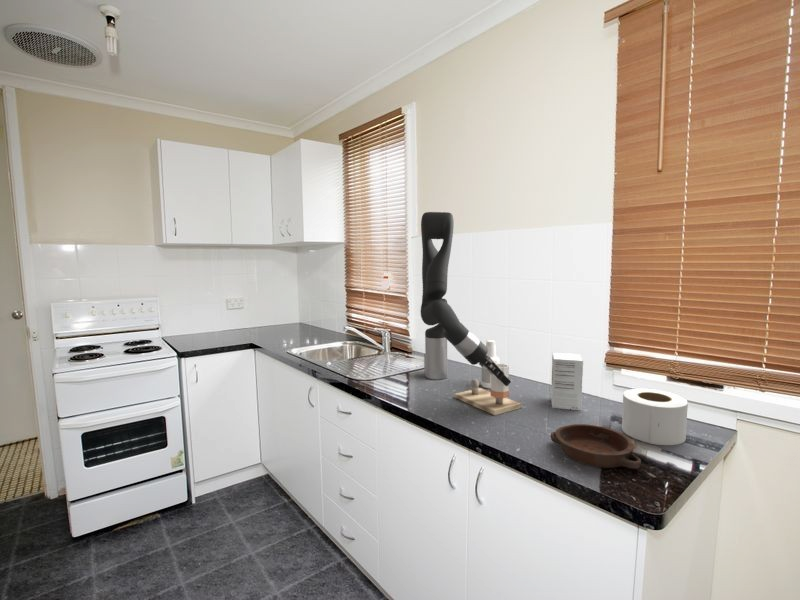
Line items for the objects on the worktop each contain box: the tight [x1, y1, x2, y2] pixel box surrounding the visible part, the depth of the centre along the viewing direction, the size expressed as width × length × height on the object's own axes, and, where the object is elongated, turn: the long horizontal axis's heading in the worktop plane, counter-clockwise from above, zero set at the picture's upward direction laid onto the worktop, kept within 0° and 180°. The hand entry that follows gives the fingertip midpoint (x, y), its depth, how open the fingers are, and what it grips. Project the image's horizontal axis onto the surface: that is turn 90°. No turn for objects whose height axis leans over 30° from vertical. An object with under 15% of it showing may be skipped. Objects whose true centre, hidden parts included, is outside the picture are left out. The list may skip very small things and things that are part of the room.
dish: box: [550, 423, 642, 470], centre depth 105 cm, size 18×22×5 cm
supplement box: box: [550, 352, 584, 411], centre depth 140 cm, size 10×9×17 cm
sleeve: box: [490, 363, 510, 398], centre depth 138 cm, size 6×6×10 cm
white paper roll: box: [621, 388, 689, 446], centre depth 117 cm, size 16×15×11 cm
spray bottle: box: [480, 339, 501, 390], centre depth 161 cm, size 7×7×18 cm
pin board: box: [454, 378, 522, 416], centre depth 143 cm, size 20×12×6 cm, turn 31°
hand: (504, 380), depth 138 cm, fingers closed on sleeve, 6 cm apart
